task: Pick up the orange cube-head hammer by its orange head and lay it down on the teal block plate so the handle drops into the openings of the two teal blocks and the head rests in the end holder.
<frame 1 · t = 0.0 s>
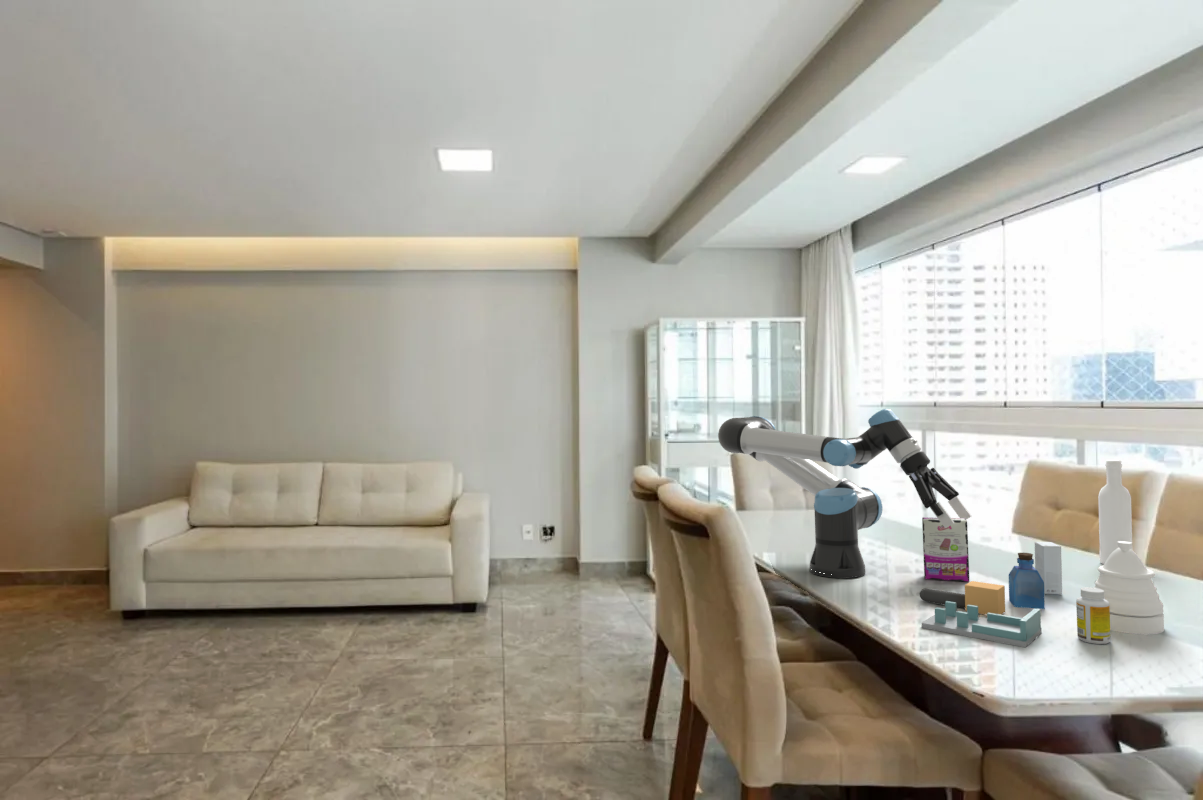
hand: (958, 522, 199), 15 cm above the table, tool tilted 35°, fingers open, 13 cm apart
candy bar box: (946, 579, 199), on the table
teal block plate: (980, 630, 155), on the table
bottle: (1116, 564, 212), on the table
perfume bottle: (1026, 605, 173), on the table
skincare box: (1048, 592, 184), on the table
honey pot: (1126, 625, 157), on the table
orange cube-head hammer: (985, 611, 169), on the table
supplement bottle: (1093, 641, 147), on the table
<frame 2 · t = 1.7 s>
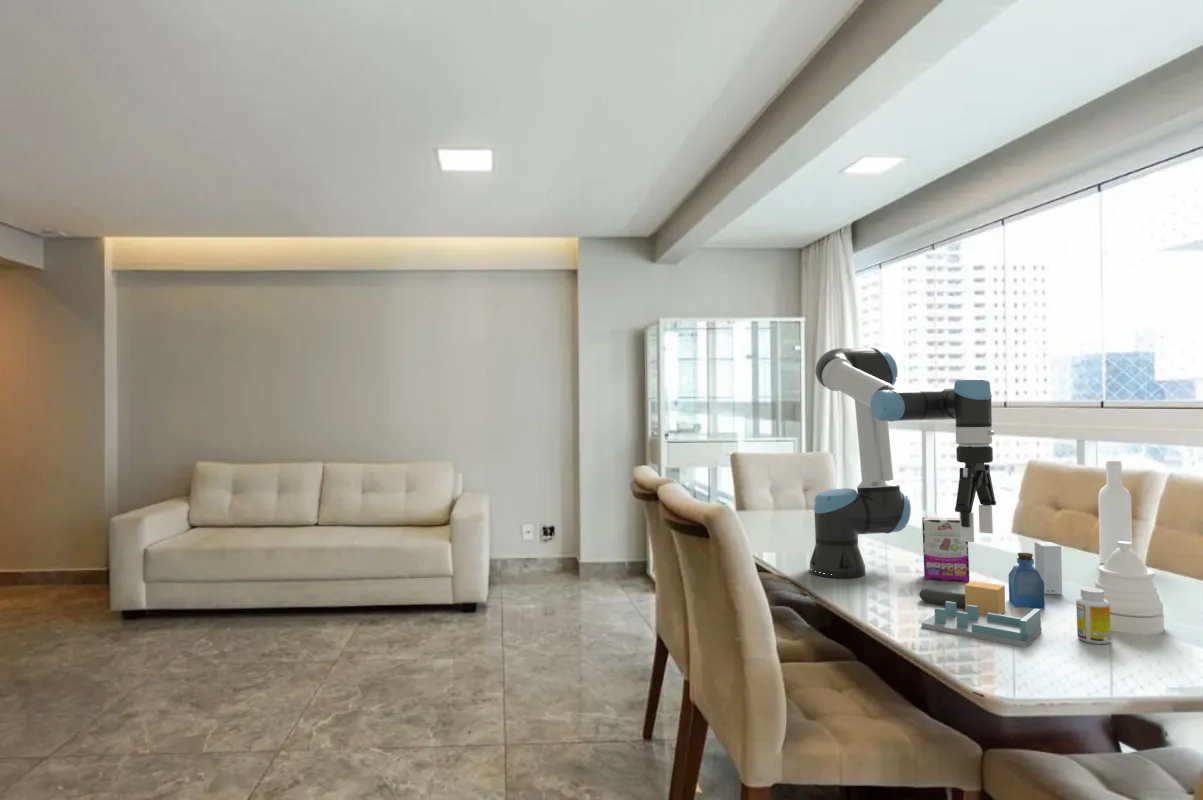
hand: (976, 537, 170), 17 cm above the table, tool pointing down, fingers open, 13 cm apart
nothing on the table moved.
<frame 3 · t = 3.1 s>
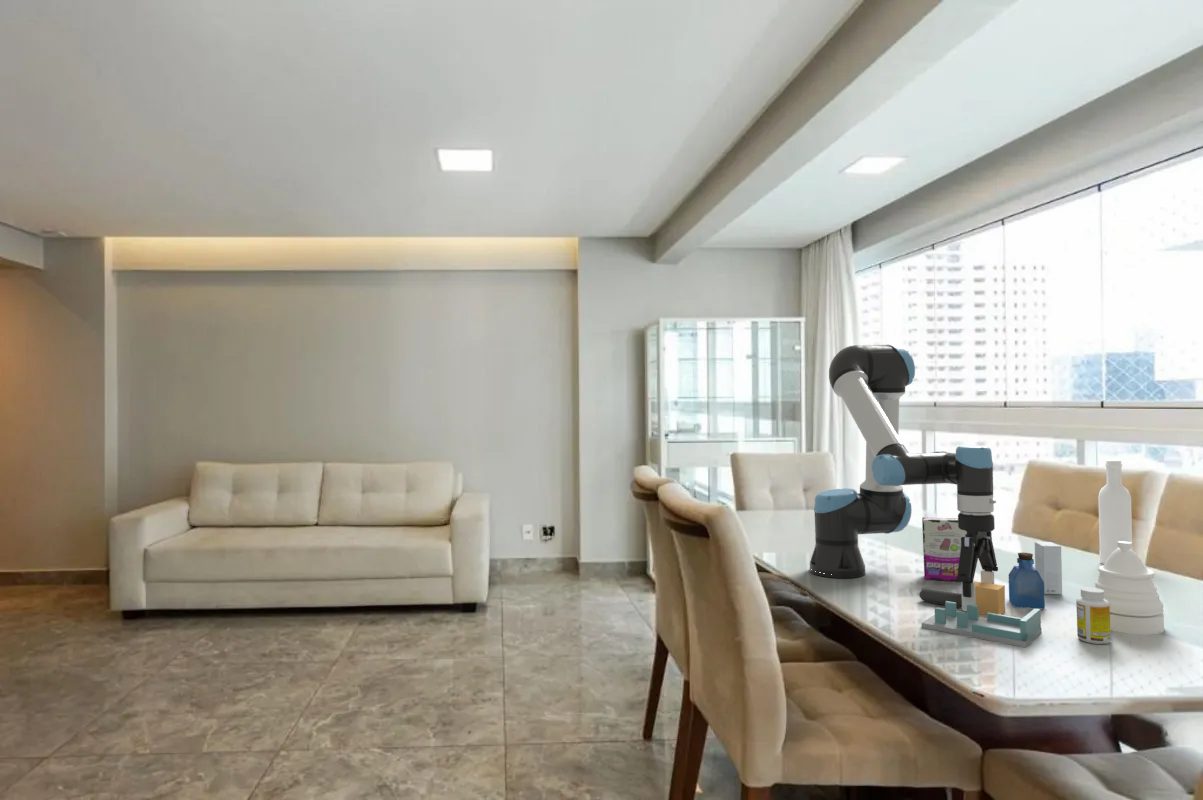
hand: (978, 604, 169), 1 cm above the table, tool pointing down, fingers open, 13 cm apart
nothing on the table moved.
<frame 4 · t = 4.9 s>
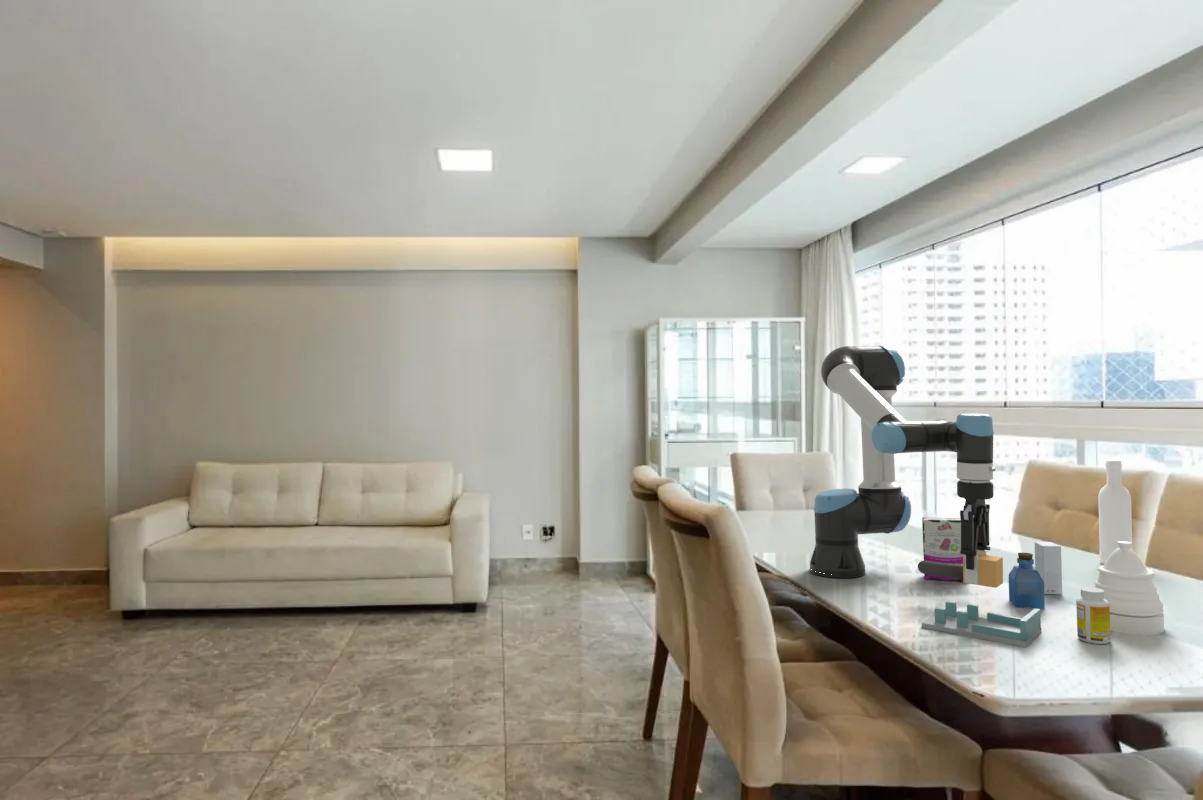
hand: (975, 580, 170), 7 cm above the table, tool pointing down, fingers closed on orange cube-head hammer, 5 cm apart
orange cube-head hammer: (983, 582, 169), point 6 cm above the table, touching gripper
everything else where it was.
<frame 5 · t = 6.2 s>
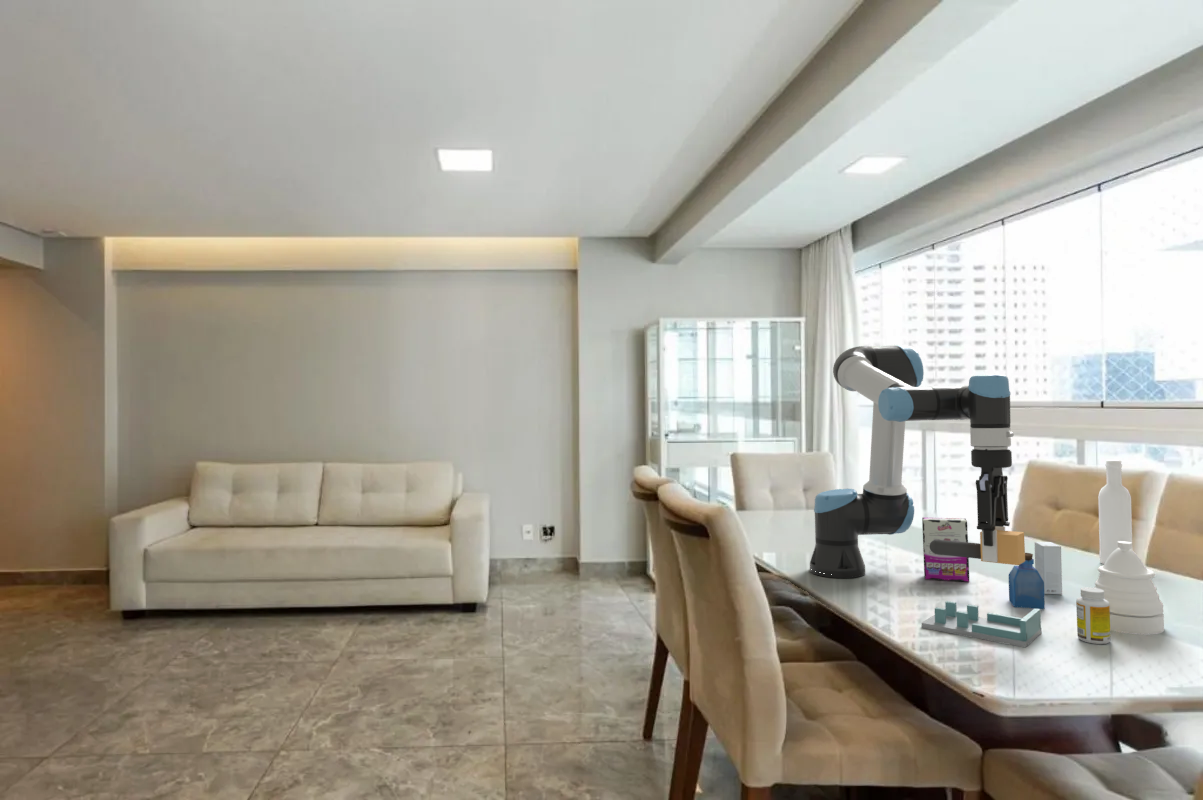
hand: (994, 558, 154), 15 cm above the table, tool pointing down, fingers closed on orange cube-head hammer, 5 cm apart
orange cube-head hammer: (1003, 561, 153), point 15 cm above the table, touching gripper
everything else where it was.
when the fingers open (3 cm above the table, at t = 7.9 s): orange cube-head hammer drops 2 cm, resting on teal block plate.
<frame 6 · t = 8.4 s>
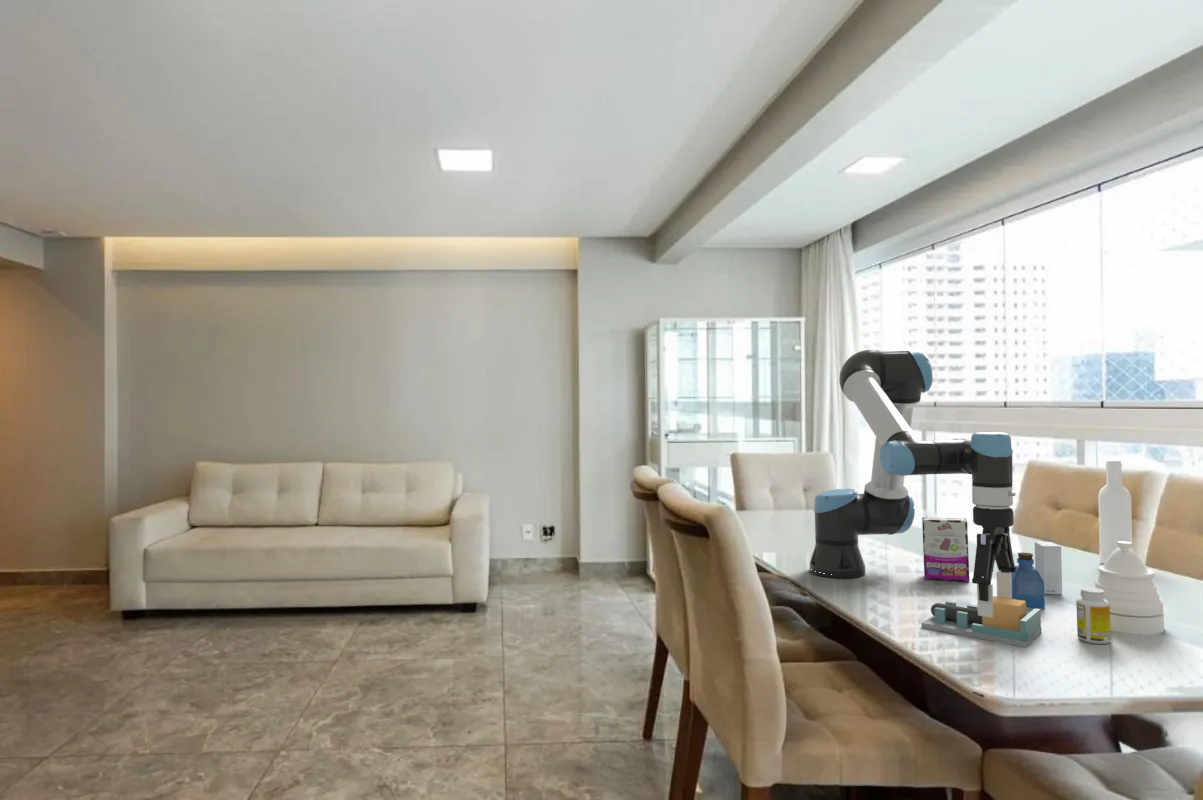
hand: (995, 609, 153), 5 cm above the table, tool pointing down, fingers open, 12 cm apart
orange cube-head hammer: (1004, 629, 152), point 1 cm above the table, touching teal block plate
everything else where it was.
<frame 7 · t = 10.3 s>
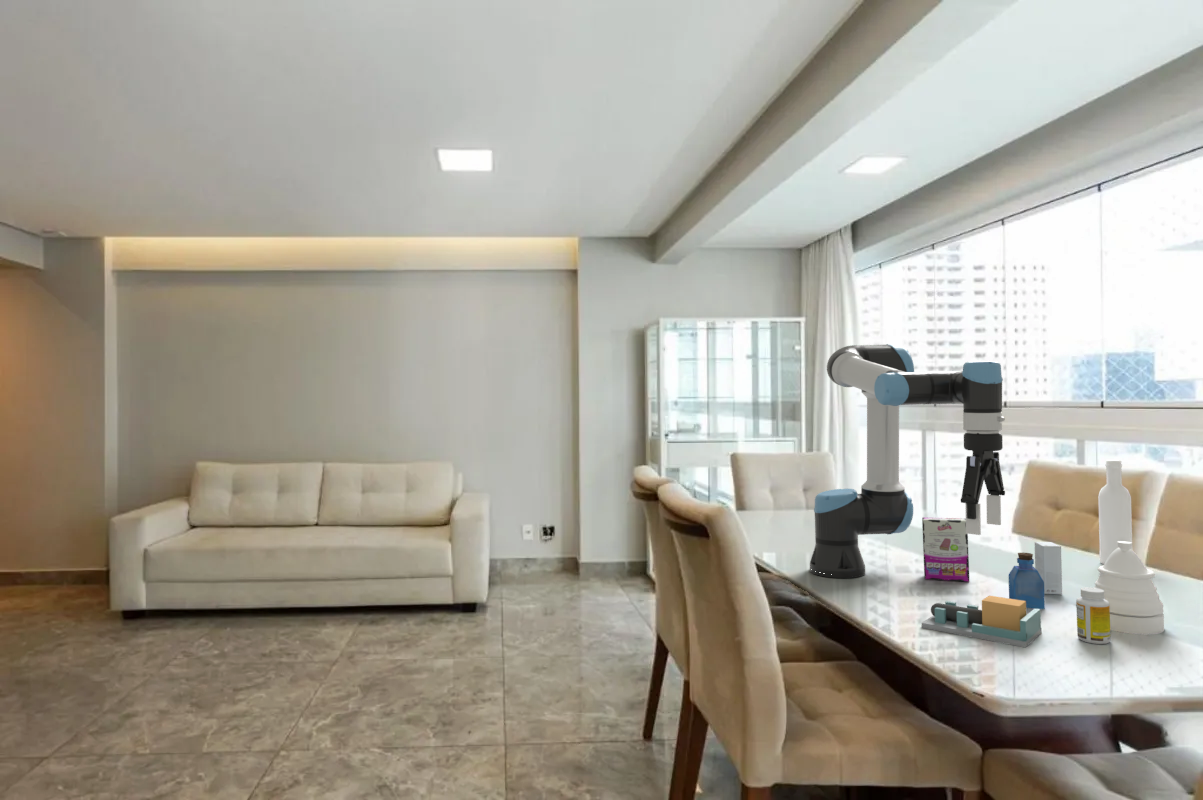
hand: (983, 529, 160), 20 cm above the table, tool pointing down, fingers open, 13 cm apart
nothing on the table moved.
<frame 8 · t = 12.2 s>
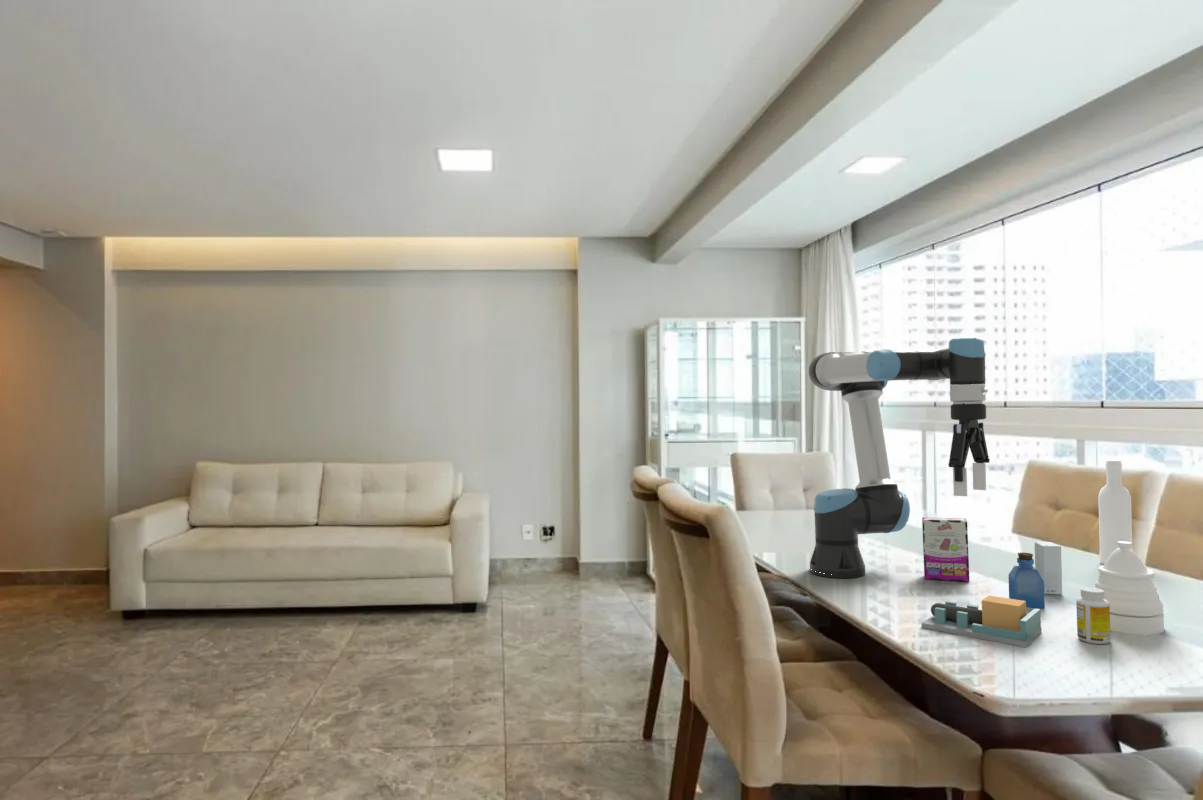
hand: (970, 492, 173), 27 cm above the table, tool pointing down, fingers open, 13 cm apart
nothing on the table moved.
at the end: orange cube-head hammer 0.1 cm from the target spot on the teal block plate, point 1.0 cm above the teal block plate's base; orange cube-head hammer tilted 0° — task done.
